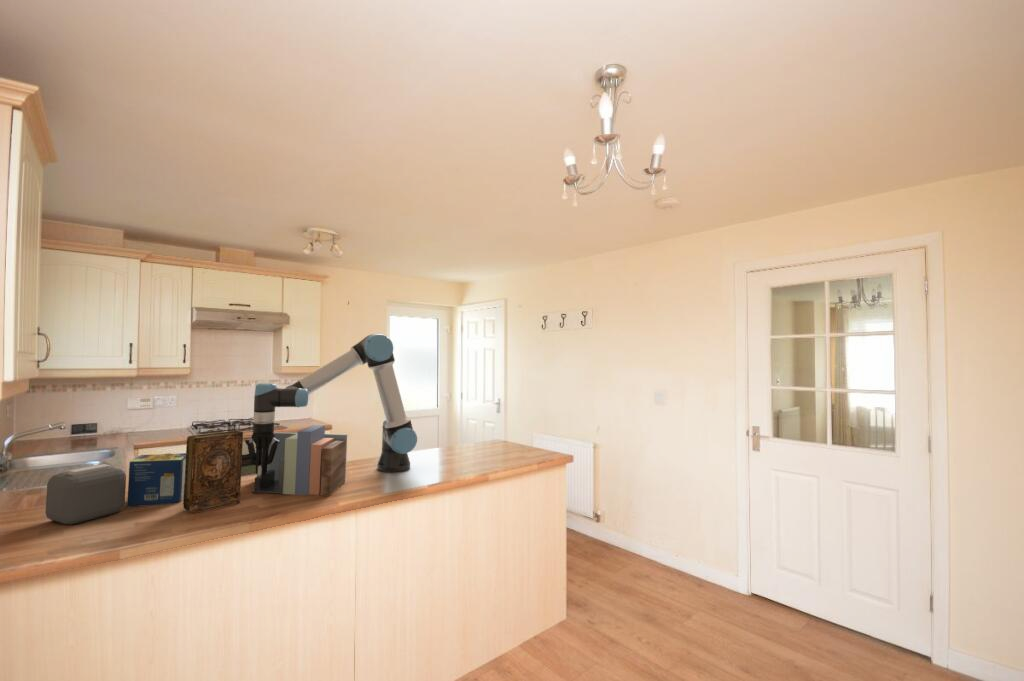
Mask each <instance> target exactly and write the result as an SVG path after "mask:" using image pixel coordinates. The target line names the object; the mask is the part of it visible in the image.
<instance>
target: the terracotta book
mask: <svg viewBox="0 0 1024 681" xmlns="http://www.w3.org/2000/svg"><path fill="white" fill-rule="evenodd" d="M333 442H334V438H323V439H321V440H319V441H317V442H315V443H313V444H311V452H310V475H309V494H308V495H313V496H314V495H317V496H318V495H320V493H321V469H322V448H324V447H326V446H327V445H329V444H331V443H333Z"/></svg>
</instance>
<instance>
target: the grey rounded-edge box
mask: <svg viewBox="0 0 1024 681" xmlns="http://www.w3.org/2000/svg"><path fill="white" fill-rule="evenodd" d="M126 484H127V475H126V472H125V471H124V470H122V469H121V468H115V467H112V466H111V465H110V464H105V463H104V464H98V465H91V466H87V467H81V468H76V469H70V470H68V471H64V472H58V473H56V474H54V475H52V476H51V477H50V478H48V481H47V484H46V497H45V516H46V519H49V520H50V521H53V522H57V523H60V524H64V525H76V524H80V523H83V522H87V521H91V520H94V519H97V518H101V517H105V516H109V515H112V514H116V513H118V512H121V510H122V509H124V506H125V503H126V486H127V485H126Z"/></svg>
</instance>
